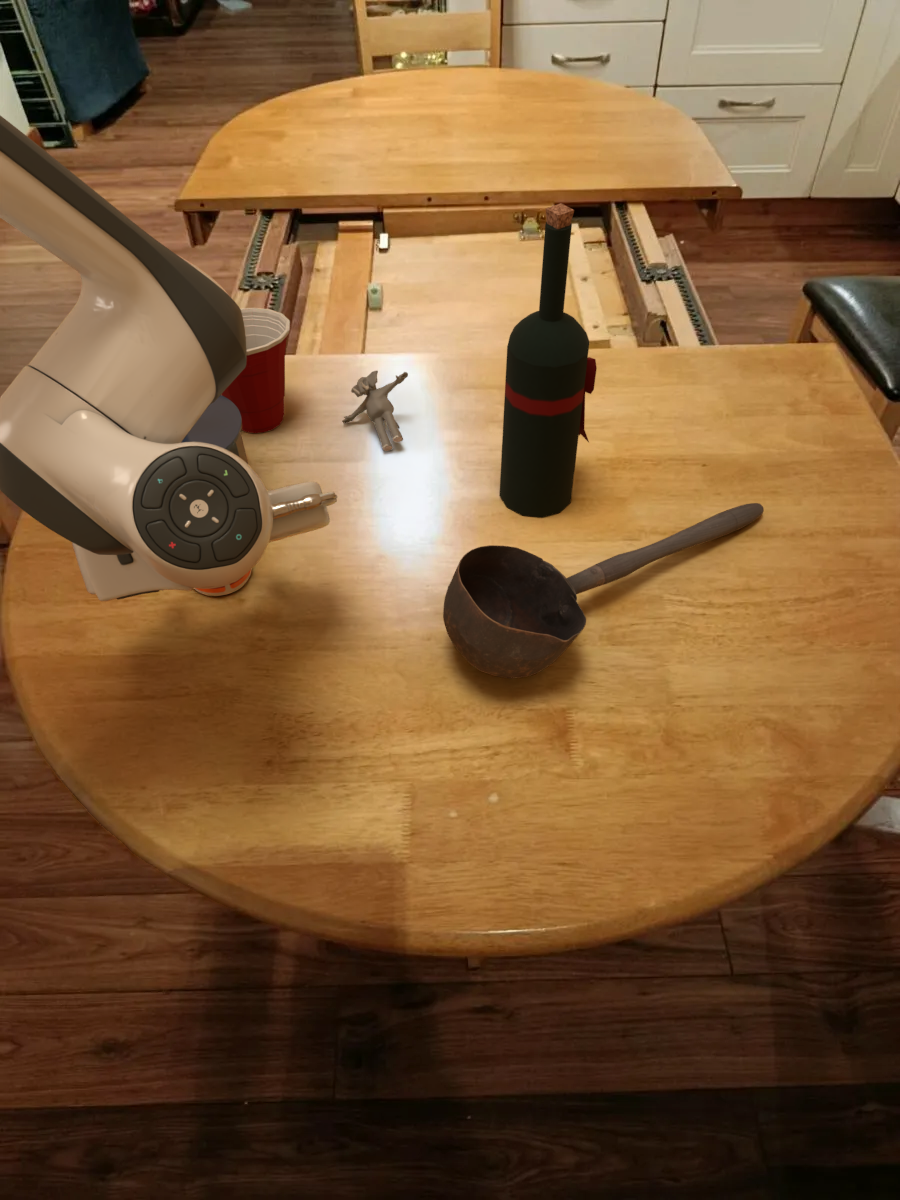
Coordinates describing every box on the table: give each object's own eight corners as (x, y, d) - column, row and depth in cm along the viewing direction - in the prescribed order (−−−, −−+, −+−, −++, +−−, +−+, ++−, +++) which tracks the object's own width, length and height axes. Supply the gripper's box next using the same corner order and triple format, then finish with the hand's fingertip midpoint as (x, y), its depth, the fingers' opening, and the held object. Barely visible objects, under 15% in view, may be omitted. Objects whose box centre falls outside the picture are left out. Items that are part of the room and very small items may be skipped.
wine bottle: (604, 490, 91) (650, 206, 69) (530, 528, 87) (553, 240, 65) (556, 453, 95) (585, 175, 73) (484, 487, 91) (491, 204, 69)
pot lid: (116, 494, 79) (102, 460, 76) (97, 415, 88) (84, 381, 85) (258, 458, 83) (250, 423, 80) (227, 385, 91) (218, 351, 88)
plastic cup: (295, 385, 105) (279, 294, 96) (314, 435, 98) (299, 342, 89) (207, 402, 103) (183, 310, 94) (220, 454, 96) (194, 361, 87)
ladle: (406, 627, 75) (434, 543, 69) (679, 537, 97) (721, 467, 90) (482, 724, 70) (520, 643, 63) (754, 606, 91) (804, 536, 85)
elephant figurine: (345, 463, 95) (320, 398, 98) (377, 475, 100) (353, 413, 103) (411, 412, 90) (384, 346, 93) (442, 428, 95) (415, 364, 98)
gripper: (328, 453, 65) (310, 477, 78) (49, 523, 60) (81, 536, 73) (351, 533, 65) (330, 543, 79) (77, 609, 60) (103, 606, 74)
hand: (208, 540), depth 76 cm, fingers open, 8 cm apart
